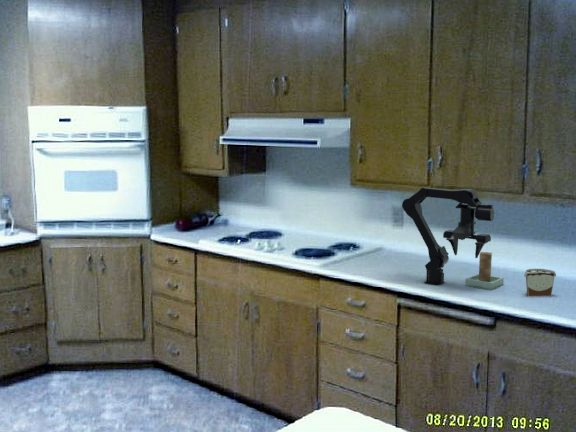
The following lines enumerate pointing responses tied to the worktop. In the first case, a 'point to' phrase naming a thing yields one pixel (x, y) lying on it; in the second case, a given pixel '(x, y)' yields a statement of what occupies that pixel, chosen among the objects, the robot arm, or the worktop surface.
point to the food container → (539, 282)
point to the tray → (475, 282)
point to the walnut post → (485, 266)
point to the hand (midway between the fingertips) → (465, 256)
